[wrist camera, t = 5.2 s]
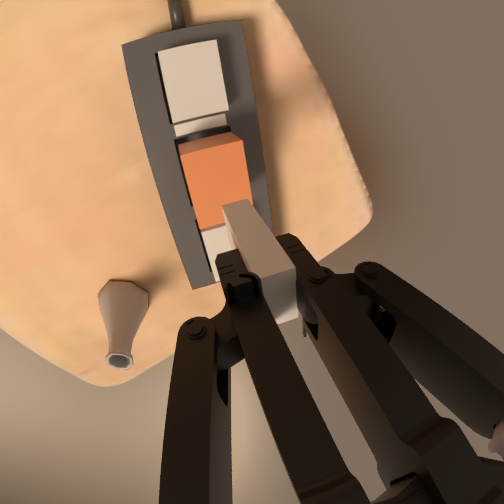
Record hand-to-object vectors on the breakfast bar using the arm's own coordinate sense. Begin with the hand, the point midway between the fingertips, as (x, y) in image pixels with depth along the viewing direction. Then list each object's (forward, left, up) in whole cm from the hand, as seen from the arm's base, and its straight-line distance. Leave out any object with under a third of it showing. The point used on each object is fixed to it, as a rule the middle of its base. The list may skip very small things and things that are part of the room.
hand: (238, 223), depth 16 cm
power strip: (-3, 0, -15) cm, 15 cm away
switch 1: (-8, 0, -12) cm, 15 cm away
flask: (+15, -15, -15) cm, 26 cm away
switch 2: (0, 0, -9) cm, 9 cm away
